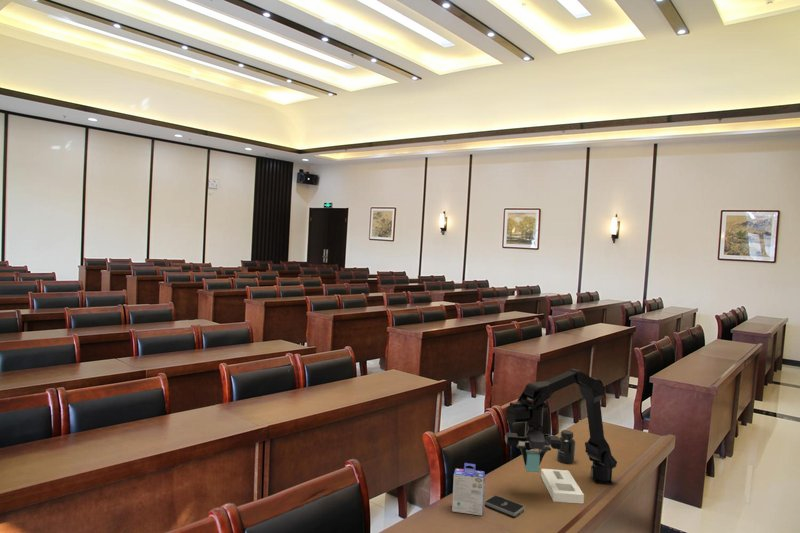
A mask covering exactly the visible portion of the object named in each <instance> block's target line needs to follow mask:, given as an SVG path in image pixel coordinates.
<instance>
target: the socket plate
mask: <svg viewBox="0 0 800 533" xmlns="http://www.w3.org/2000/svg"><path fill="white" fill-rule="evenodd" d="M540 471H541V472H540V477H541V479H542V481H543V484H544V486H545V487H546V489H547V492H548V493H549V495H550V498H551V499H552V502H554V503H556V502H557V503H569V504H579V505H580V504H581V505H583V504H584V502H585V500H584V499H585V494H584V493H583V491H582V490H581V488H580V486H579V484H578V483H577V482H576V480H575V479H574V477H573V476H572V473H571V472H570V471H569V470H567V469H566V470H565V469H564V470H563V469H551V468H541V470H540Z"/></svg>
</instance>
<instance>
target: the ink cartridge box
mask: <svg viewBox="0 0 800 533" xmlns="http://www.w3.org/2000/svg"><path fill="white" fill-rule="evenodd" d="M463 464H464V466H463V468H455V469H454V473H453V478H452V479H453V480H452V481H453V483H452V501H451V502H452V503H451V505H452V507H451V512H454V513H461V514H467V515H476V516H483V514H484V506H485V483H486V482H485V481H486V480H485V479H486V476H485V475H486V474H485V473H486V472H485V471H483V470H476V464H475V463H469V462H464V463H463ZM468 467H469V468H468ZM470 467H472V468H470Z"/></svg>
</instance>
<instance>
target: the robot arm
mask: <svg viewBox="0 0 800 533" xmlns="http://www.w3.org/2000/svg"><path fill="white" fill-rule="evenodd" d="M574 384H577V385H578V388H579V392H580V394H581V396H582V397H583V400H585V405H586V406H585V407H586V413H587V414H586V415H587V421H588V422H587V424H588V431H589V439H588V441H585V442H584V447H585V452H584V453H586V454H587V457H588V460H589V461H590V462H592V465H591V466H590V477H591V479H592V480H593V481H594V483H596V484H607V485H614V482H613V481H612V478H613V477H612V476H613V469H614V468H616V467H617V465H618V461H617V459H616V458H614V456H613V455H612V451H611V447H610V444H609V443H608V442H607V440H606V439H605V438H606V437H605V434H604V433H605V432H604V425H603V424H604V423H603V415H602V407H601V400H602V398H603V397H604V387H605V385H604V382H603V381H602V380H601V379H599V378H596V377H592V376H590V375H587V374H586V373H584V372H583V371H582V370H579V369H575V368H570V369H569V370H567V371H566V372H563V373H561V374H559V375H557V376H554V377H552V378H549V379H547V380H545V381H544V380H543V381H534V382H530V383H527V384H526V385H525V388H524V389H523V391H522V393H521V394H520V396H519V397H518V399H517V402H509V406H507V407H506V410H505V418H506V421H507V422H508V423H509V424H520V423H525V425H524V427H525V428H524V436H518V434H517V433H516V432H506V433H505V435H504V441H505V443H506V446H508V447H509V446H510V447H516V448H517V449H520V452H521V456H522V460H523V463H524V464H523V465H524V466H525V465H526V450H527V447H526V444H529V448H530V450H537V451H538V453H539V455H540V463H539V467H540V465H541V463H542V461H543V459H544V457H545V454H546V453H547V452H548V451H549V452H550V451H551V450H552V449H554V450H557V449H562V441H561V440H560V439H559V437H560V436H558V435H551V434H550V433H549V434H547V433H544V427H543V423H544V422H543V421H544V409H548V408H549V405H548V404H547V403H546V401H548V400H549V399H550V398H551V396H552V394H554V393H557V392H559V391H561V390H564V389H566V388H567V387H570V386H572V385H574Z"/></svg>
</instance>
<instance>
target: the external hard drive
mask: <svg viewBox="0 0 800 533" xmlns="http://www.w3.org/2000/svg"><path fill="white" fill-rule="evenodd" d="M484 506H485V507H486V508H487V509H490V510H492V511H495V512H498V513H500V514H502V515H505V516H507V517H509V518H513V519H515V518H517V517H518V516H520V515H521V514H522V513H523V512H524V511H525V506H524V505H523V504H520V503H518V502H514V501H512V500H510V499H507V498H504V497H503V496H499V495H497V494H496V495H495V494H494V495H493V496H490V497H489V498H488V499H486V500H484Z"/></svg>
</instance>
